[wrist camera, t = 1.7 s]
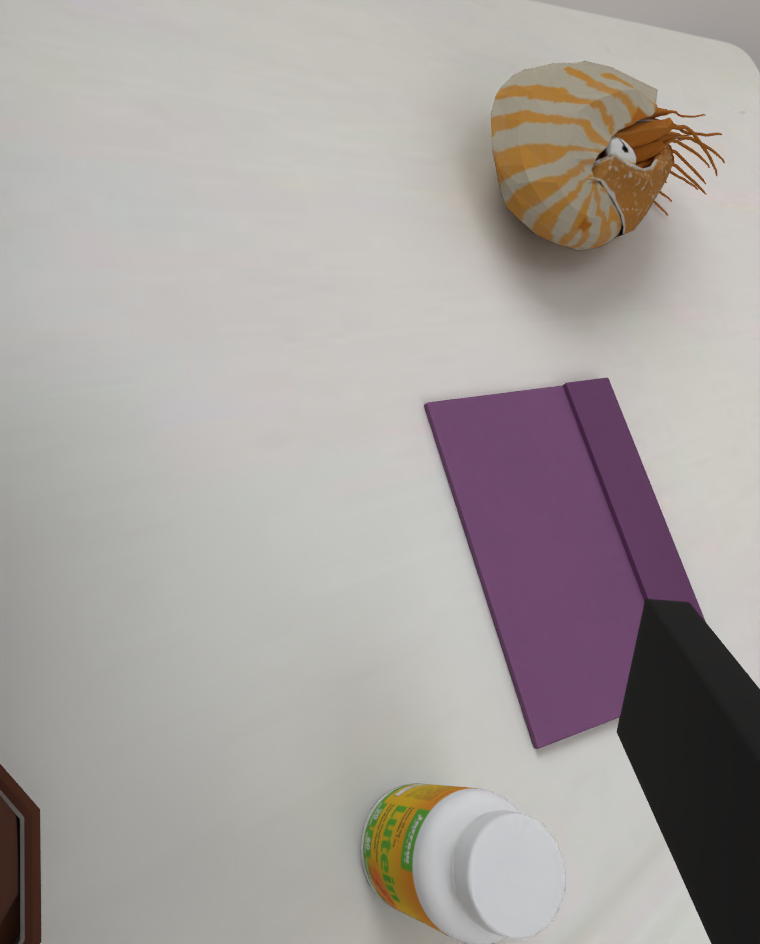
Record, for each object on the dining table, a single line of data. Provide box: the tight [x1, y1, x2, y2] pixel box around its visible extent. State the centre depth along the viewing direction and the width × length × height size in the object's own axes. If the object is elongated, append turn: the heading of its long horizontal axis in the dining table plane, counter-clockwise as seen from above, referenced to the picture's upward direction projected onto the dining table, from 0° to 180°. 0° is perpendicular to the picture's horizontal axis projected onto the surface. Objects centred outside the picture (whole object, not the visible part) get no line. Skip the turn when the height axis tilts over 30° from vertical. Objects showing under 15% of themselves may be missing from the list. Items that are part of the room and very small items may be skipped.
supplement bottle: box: [361, 784, 566, 944], centre depth 30 cm, size 5×5×10 cm
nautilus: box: [491, 61, 725, 251], centre depth 51 cm, size 8×22×15 cm
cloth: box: [424, 378, 705, 748], centre depth 43 cm, size 20×14×1 cm
